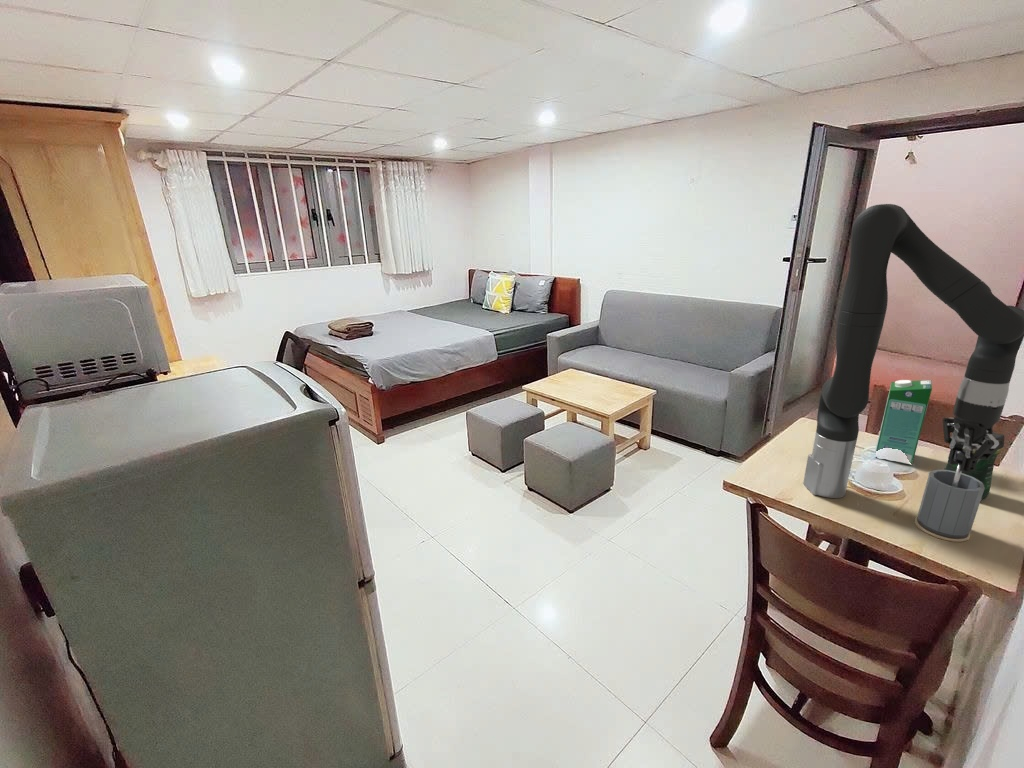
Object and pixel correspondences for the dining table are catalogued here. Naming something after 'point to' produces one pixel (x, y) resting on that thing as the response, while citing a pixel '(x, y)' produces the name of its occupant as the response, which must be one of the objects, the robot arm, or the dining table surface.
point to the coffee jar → (983, 467)
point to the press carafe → (949, 506)
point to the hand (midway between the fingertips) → (960, 467)
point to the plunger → (958, 458)
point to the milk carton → (904, 416)
